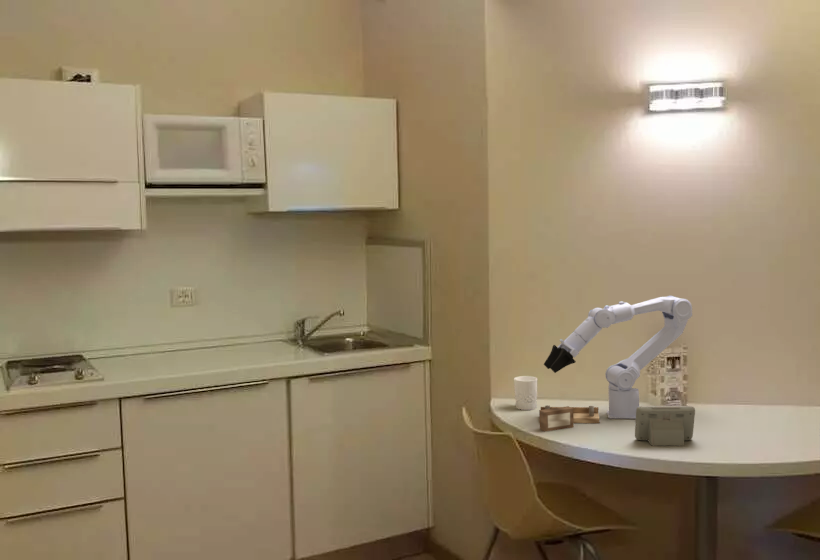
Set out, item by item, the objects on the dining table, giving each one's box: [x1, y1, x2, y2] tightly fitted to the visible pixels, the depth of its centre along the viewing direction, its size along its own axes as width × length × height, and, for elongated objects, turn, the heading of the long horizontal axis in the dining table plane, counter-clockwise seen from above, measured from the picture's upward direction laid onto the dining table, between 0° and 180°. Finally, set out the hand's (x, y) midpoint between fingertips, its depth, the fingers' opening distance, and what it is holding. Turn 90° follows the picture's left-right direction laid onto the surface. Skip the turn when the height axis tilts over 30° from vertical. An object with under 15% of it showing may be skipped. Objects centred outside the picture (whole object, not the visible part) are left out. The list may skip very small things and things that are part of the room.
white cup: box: [513, 375, 538, 411], centre depth 267 cm, size 8×8×10 cm
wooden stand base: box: [540, 405, 600, 424], centre depth 251 cm, size 18×7×4 cm, turn 80°
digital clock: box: [634, 405, 696, 447], centre depth 225 cm, size 16×9×11 cm, turn 72°
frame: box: [538, 405, 575, 433], centre depth 242 cm, size 10×3×6 cm, turn 110°
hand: (549, 368), depth 249 cm, fingers open, 7 cm apart
